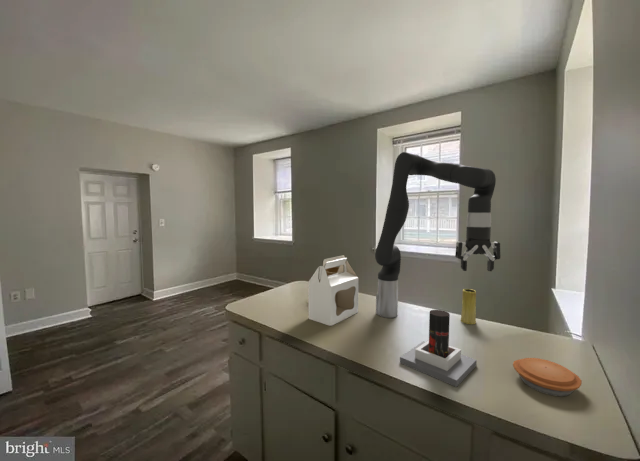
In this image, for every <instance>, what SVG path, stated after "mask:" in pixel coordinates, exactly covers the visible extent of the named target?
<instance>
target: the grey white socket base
mask: <svg viewBox="0 0 640 461" xmlns="http://www.w3.org/2000/svg"><path fill="white" fill-rule="evenodd" d="M477 362H478V361H477V359H476V358H473V357H470V356H467V355H464V354H462V349H461V348H458V347H455V346H452V345H449V352H448V357H446V358H443V357H440V356H437V355H435V354H432V353H429V339H428V340H427V341H421V342H420V343H418V344H417V345H415V346H414V347H413V348H411V349H409V350H408V351H406V352H405V353H404V354H402V355H400V356H399V363H400V364H402V365H404V366H407V367H409V368H411V369H413V370H416V371H418V372H420V373H423V374H426V375H428V376H430V377H433V378H434V379H437V380H438V381H439V380H440V381H441V382H444V383H446V384H448V385H450V386H453V387H455V388H458V386H459V385H460V384H461V383H462V382H463V381H464V380H465V379H466V378H467V377H468V375H470V373H471V372H472V371H473V370H474V369H475V368H476V367H477Z"/></svg>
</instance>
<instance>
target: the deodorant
mask: <svg viewBox="0 0 640 461" xmlns="http://www.w3.org/2000/svg"><path fill="white" fill-rule="evenodd" d="M450 316H451V314H450V312H448V311H446V310H443V309H442V310H441V309H432V310H430V311H429V317H428V319H429V322H428V323H429V324H428V328H429V329H428V340H429V353H432V354H435V355H437V356H440V357H443V358H446V357H448V352H449V346H450V342H449V341H450V318H451V317H450Z"/></svg>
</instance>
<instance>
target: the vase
mask: <svg viewBox="0 0 640 461" xmlns="http://www.w3.org/2000/svg"><path fill="white" fill-rule="evenodd" d="M461 299H462V300H461V314H460V322H461V323H463V324H466V325H475V324H476V323H477V321H476V319H477V311H476V310H477V308H476V306H477V291H476V290H475V289H472V288H463V289H462V298H461Z"/></svg>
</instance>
